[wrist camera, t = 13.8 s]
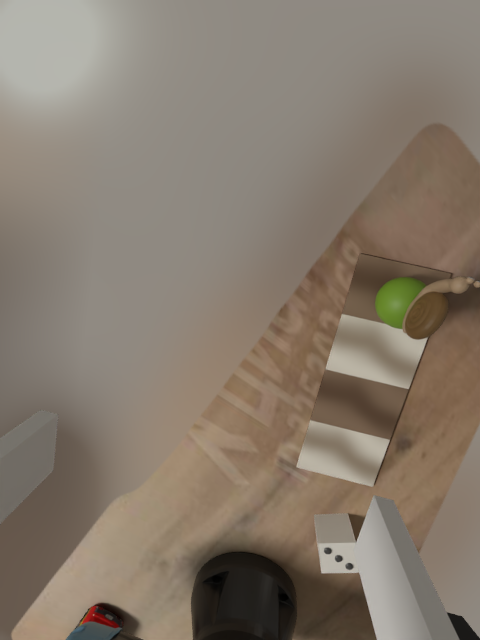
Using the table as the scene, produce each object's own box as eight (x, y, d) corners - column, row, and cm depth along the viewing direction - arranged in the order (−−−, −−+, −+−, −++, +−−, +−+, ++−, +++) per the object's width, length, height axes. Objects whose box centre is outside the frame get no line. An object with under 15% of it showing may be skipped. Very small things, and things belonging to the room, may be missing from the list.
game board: (372, 485, 42) (372, 486, 42) (296, 465, 43) (296, 467, 42) (450, 273, 35) (451, 273, 35) (359, 253, 36) (360, 253, 36)
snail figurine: (433, 279, 36) (512, 294, 24) (403, 330, 37) (462, 368, 25) (388, 258, 36) (444, 263, 24) (360, 310, 37) (399, 339, 25)
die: (350, 540, 44) (358, 573, 40) (316, 541, 45) (321, 574, 40) (347, 512, 43) (356, 543, 39) (313, 514, 44) (318, 544, 40)
